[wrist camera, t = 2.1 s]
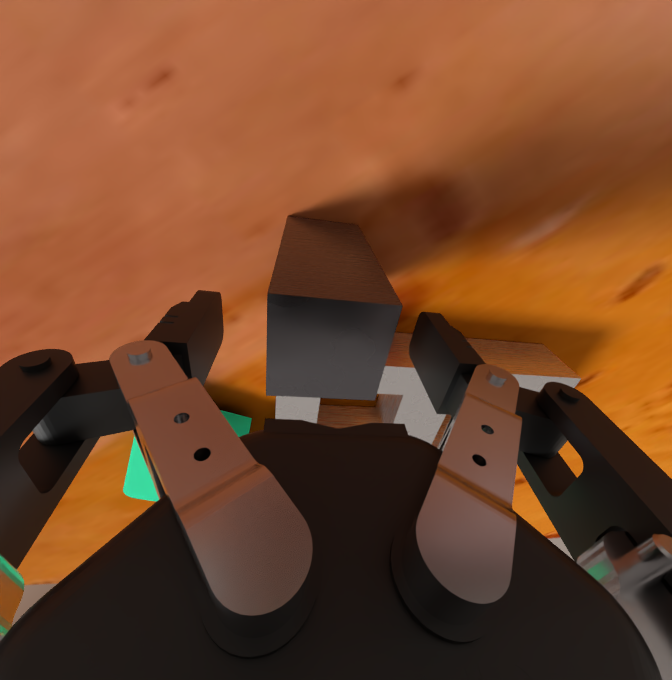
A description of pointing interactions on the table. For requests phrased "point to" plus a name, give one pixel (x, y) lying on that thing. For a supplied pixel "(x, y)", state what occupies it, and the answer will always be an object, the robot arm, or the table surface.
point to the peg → (328, 313)
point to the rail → (411, 397)
